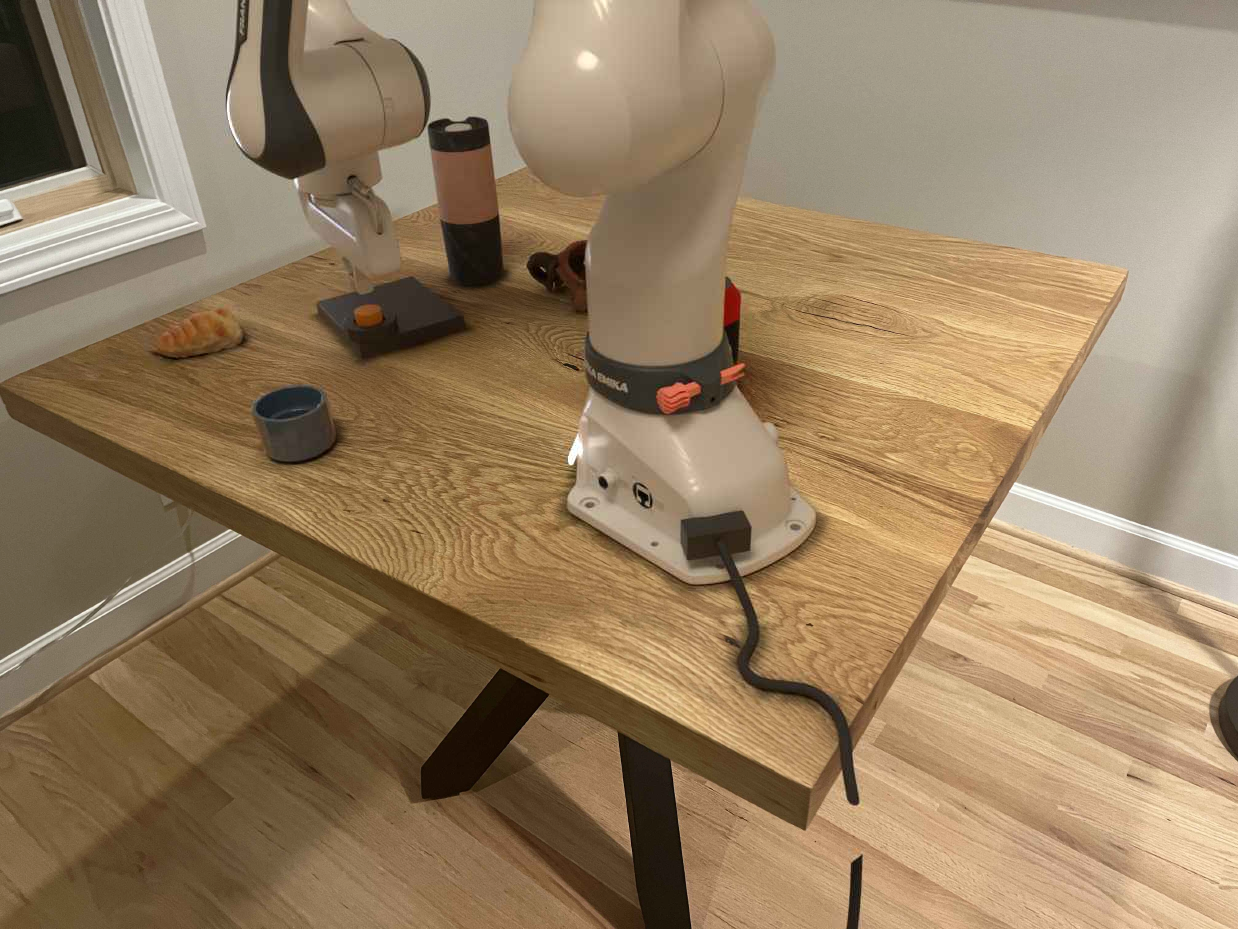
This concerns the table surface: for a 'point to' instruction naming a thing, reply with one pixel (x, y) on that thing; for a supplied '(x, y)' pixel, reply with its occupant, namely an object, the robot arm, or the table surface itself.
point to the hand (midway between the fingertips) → (361, 289)
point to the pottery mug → (562, 271)
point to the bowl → (294, 423)
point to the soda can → (732, 317)
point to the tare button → (368, 315)
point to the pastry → (200, 334)
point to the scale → (391, 317)
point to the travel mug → (467, 200)
